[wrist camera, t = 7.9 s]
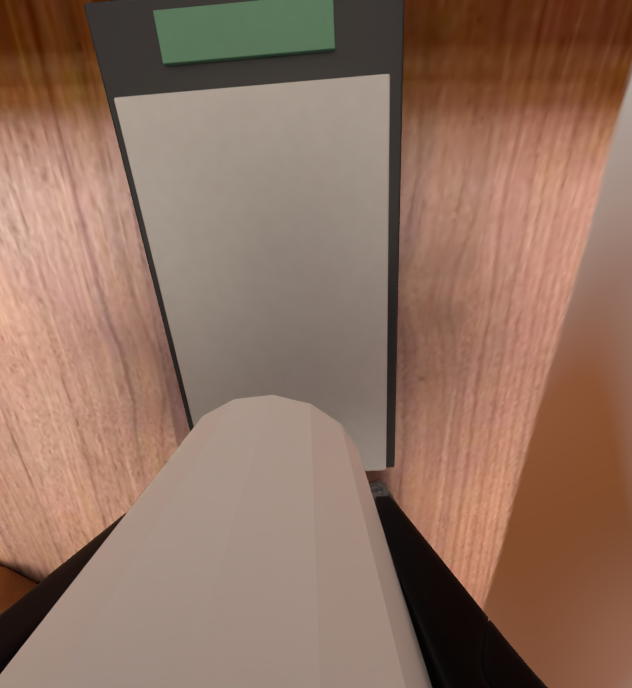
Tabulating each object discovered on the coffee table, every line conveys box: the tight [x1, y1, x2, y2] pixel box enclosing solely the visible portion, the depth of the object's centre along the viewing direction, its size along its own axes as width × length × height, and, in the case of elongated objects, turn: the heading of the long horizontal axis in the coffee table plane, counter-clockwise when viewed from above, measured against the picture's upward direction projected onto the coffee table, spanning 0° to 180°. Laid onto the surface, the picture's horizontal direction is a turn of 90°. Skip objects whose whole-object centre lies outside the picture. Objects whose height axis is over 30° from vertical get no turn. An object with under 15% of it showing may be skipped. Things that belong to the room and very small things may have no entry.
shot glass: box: [0, 395, 432, 688], centre depth 7 cm, size 7×7×7 cm
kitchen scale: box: [84, 0, 404, 471], centre depth 13 cm, size 17×9×3 cm, turn 4°
